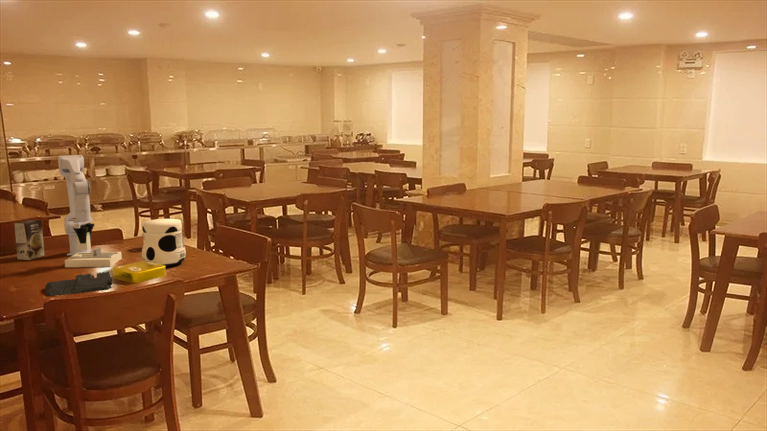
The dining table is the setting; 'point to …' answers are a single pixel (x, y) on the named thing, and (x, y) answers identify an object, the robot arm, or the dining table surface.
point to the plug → (85, 245)
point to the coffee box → (29, 239)
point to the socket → (92, 260)
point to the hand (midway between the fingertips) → (85, 242)
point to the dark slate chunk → (80, 284)
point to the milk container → (163, 242)
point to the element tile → (139, 271)
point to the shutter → (98, 253)
